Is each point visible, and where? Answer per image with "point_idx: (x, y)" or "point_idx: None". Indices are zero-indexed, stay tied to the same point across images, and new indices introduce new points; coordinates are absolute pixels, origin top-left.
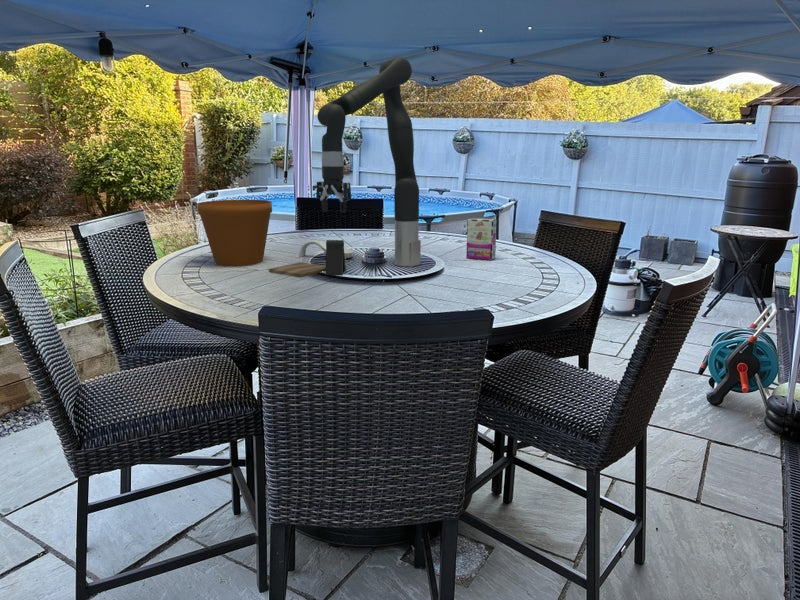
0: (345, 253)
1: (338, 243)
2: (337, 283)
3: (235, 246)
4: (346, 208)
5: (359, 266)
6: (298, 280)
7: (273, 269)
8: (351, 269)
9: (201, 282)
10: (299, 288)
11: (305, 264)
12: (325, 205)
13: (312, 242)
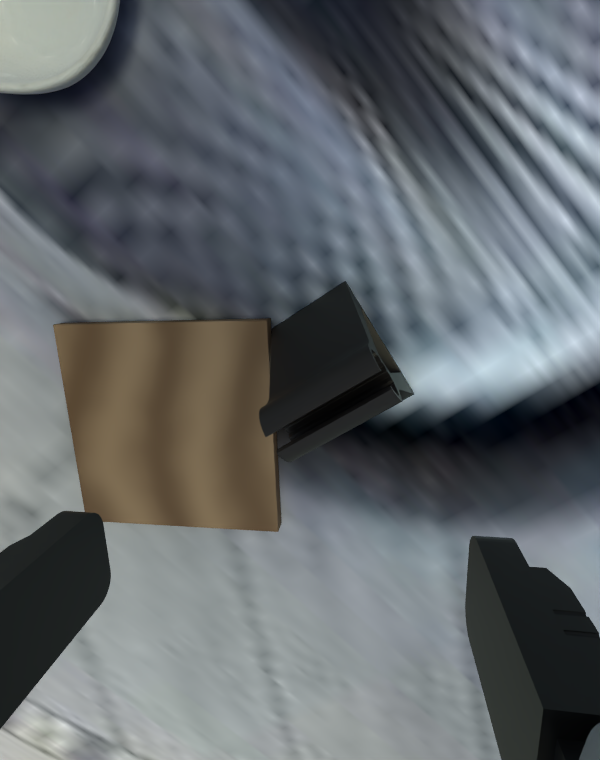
0: (112, 20)
1: (372, 416)
2: (508, 529)
3: None
4: (581, 607)
5: (327, 130)
6: (317, 566)
7: (110, 519)
8: (348, 234)
9: (78, 733)
10: (427, 663)
11: (119, 353)
12: (40, 619)
13: None
